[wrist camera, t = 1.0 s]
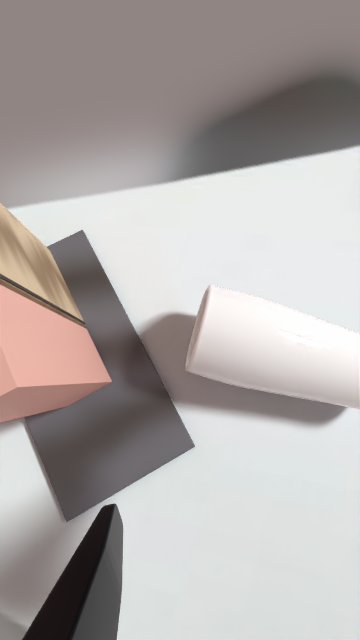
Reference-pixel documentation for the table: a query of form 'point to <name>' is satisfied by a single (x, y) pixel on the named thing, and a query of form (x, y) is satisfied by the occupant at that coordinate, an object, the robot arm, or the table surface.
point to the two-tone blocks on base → (105, 403)
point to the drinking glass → (273, 349)
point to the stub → (43, 359)
